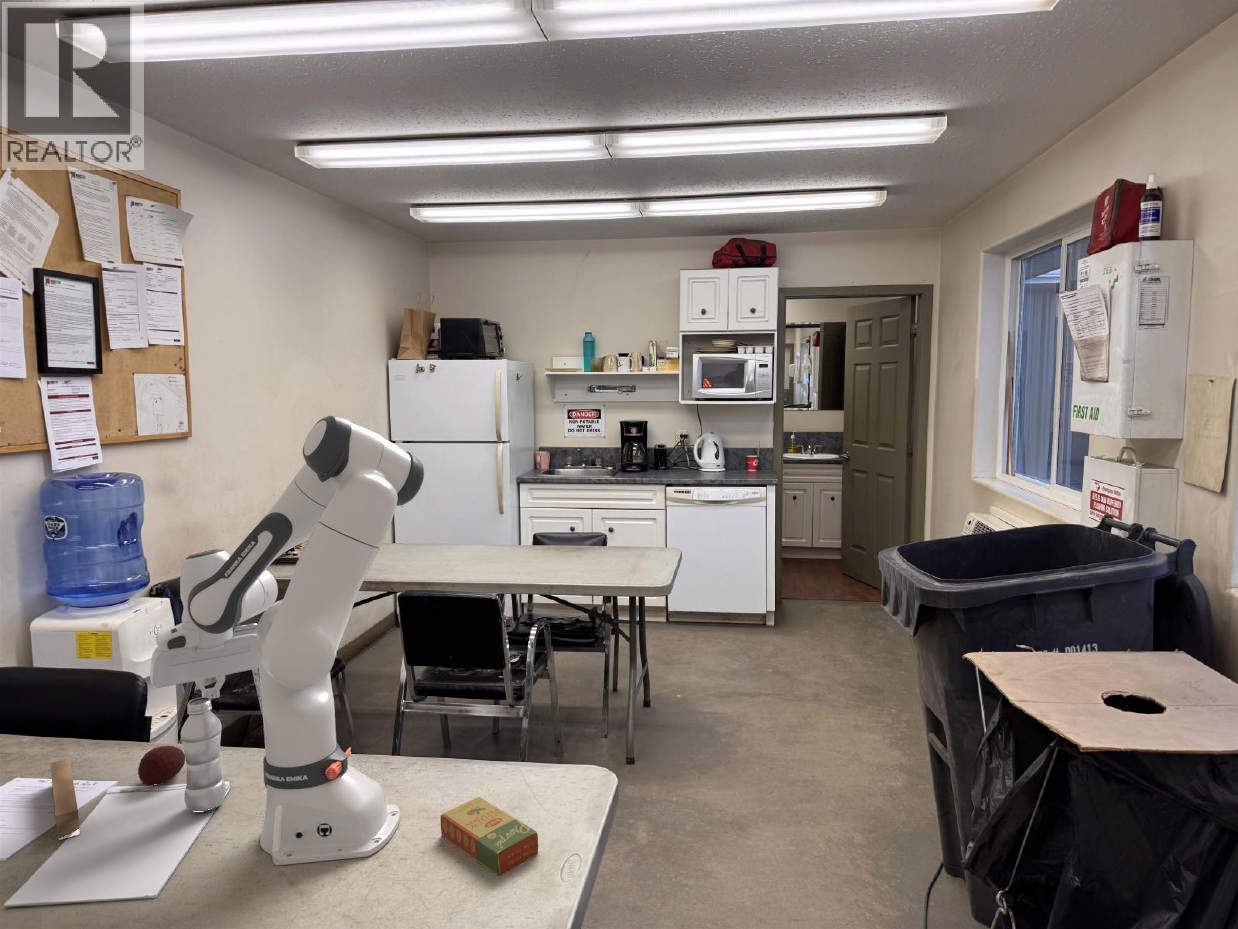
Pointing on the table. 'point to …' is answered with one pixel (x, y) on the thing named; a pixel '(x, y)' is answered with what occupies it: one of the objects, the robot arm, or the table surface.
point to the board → (64, 798)
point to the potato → (160, 764)
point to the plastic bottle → (202, 756)
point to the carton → (489, 835)
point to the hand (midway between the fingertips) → (211, 698)
